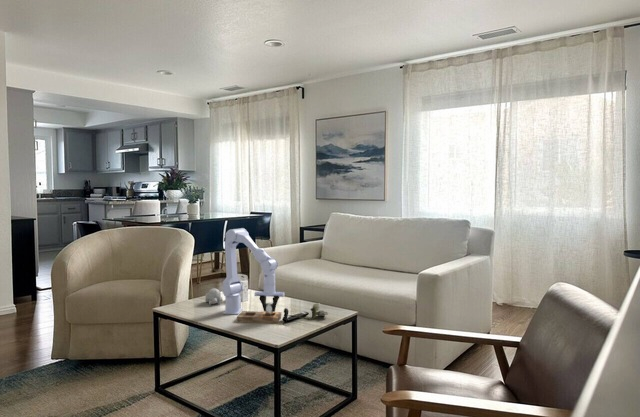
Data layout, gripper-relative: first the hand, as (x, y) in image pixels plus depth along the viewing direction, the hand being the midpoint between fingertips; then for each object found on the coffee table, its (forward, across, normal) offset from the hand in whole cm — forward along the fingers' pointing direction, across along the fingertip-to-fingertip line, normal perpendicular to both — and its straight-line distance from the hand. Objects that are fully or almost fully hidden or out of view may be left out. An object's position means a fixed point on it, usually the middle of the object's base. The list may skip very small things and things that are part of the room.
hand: (269, 310), depth 222 cm
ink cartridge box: (+5, -25, +36) cm, 44 cm away
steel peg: (+3, 0, 0) cm, 3 cm away
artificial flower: (+5, +17, +4) cm, 18 cm away
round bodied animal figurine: (+5, -38, +27) cm, 47 cm away
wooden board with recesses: (+4, -5, 0) cm, 7 cm away
